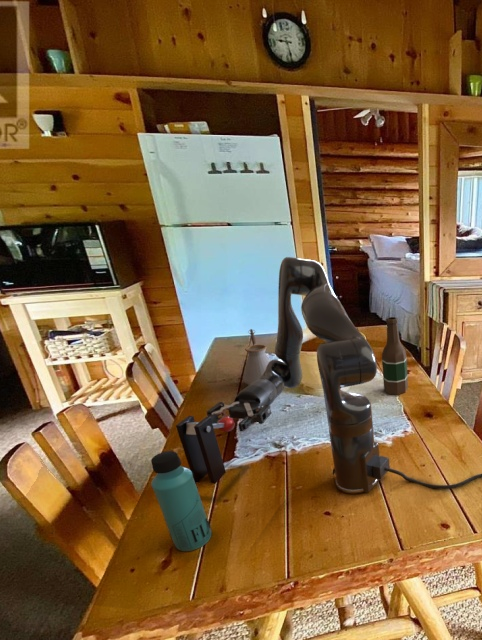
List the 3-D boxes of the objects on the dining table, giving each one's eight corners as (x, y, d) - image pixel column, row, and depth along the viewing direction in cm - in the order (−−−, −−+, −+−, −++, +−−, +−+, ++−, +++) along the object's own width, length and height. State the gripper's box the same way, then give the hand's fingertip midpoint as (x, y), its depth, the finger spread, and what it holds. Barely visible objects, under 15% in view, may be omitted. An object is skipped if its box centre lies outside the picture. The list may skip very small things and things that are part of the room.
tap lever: (223, 430, 107) (223, 416, 107) (237, 431, 106) (238, 416, 106) (183, 437, 93) (183, 420, 92) (199, 437, 92) (199, 420, 92)
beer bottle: (412, 388, 144) (410, 317, 134) (398, 397, 139) (394, 323, 128) (394, 383, 148) (389, 313, 137) (379, 391, 142) (373, 319, 131)
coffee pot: (283, 387, 146) (274, 344, 139) (245, 393, 142) (235, 349, 135) (275, 365, 163) (268, 326, 156) (242, 370, 159) (233, 330, 152)
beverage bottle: (199, 560, 79) (166, 469, 70) (167, 555, 80) (131, 464, 71) (222, 535, 85) (195, 447, 76) (192, 530, 86) (162, 443, 77)
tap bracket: (206, 465, 106) (189, 407, 99) (245, 467, 105) (231, 409, 98) (174, 496, 95) (151, 434, 88) (217, 500, 94) (198, 436, 87)
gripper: (228, 383, 117) (190, 411, 102) (280, 385, 115) (248, 414, 101) (235, 408, 120) (199, 439, 106) (284, 410, 119) (255, 442, 104)
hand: (223, 427), depth 103 cm, fingers open, 8 cm apart
